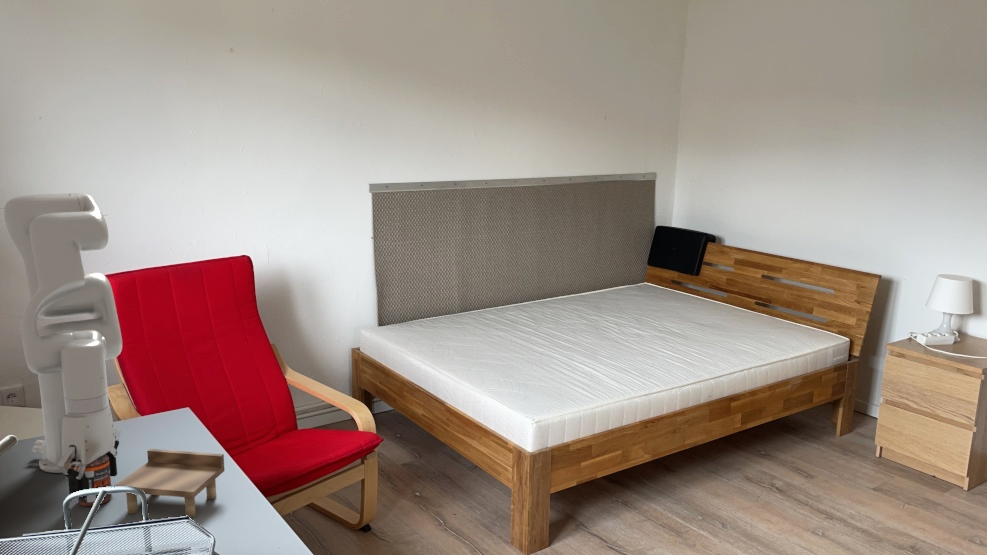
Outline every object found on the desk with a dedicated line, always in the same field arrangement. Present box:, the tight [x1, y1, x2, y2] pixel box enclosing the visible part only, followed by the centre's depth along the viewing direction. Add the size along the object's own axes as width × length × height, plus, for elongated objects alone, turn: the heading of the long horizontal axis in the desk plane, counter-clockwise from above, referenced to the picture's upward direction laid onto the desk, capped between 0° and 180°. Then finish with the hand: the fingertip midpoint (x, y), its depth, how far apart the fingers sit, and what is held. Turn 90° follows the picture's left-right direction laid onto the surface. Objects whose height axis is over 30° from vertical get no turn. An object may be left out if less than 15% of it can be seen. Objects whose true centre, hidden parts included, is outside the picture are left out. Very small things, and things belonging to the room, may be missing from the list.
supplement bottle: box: [76, 454, 113, 507], centre depth 152 cm, size 6×6×11 cm
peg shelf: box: [114, 448, 225, 520], centre depth 151 cm, size 16×12×9 cm
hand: (94, 485), depth 153 cm, fingers open, 9 cm apart
